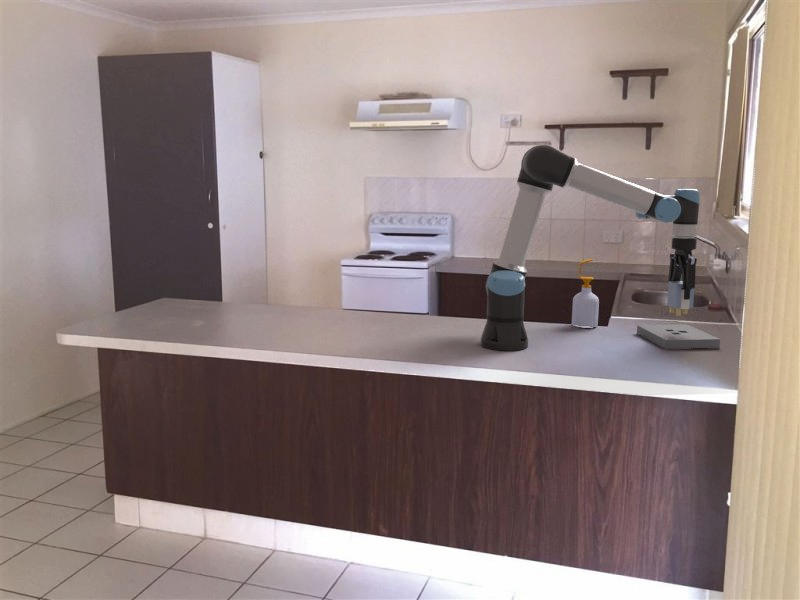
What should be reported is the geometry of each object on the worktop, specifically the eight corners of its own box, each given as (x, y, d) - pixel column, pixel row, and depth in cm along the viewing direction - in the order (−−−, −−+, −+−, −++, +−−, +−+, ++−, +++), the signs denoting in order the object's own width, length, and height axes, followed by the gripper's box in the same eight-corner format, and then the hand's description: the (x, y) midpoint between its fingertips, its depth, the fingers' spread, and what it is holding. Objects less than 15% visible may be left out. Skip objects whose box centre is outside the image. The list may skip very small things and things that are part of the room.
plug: (674, 315, 239) (677, 284, 237) (666, 312, 245) (668, 281, 243) (692, 315, 240) (694, 283, 238) (683, 311, 246) (685, 281, 244)
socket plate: (665, 349, 232) (666, 340, 232) (636, 333, 254) (637, 325, 253) (719, 348, 234) (720, 339, 234) (686, 332, 256) (686, 324, 255)
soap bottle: (598, 329, 260) (602, 260, 256) (571, 328, 262) (575, 259, 257) (596, 324, 269) (600, 257, 264) (571, 323, 270) (574, 256, 266)
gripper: (710, 239, 229) (705, 312, 233) (681, 234, 247) (677, 301, 252) (687, 240, 228) (682, 312, 232) (660, 234, 247) (656, 302, 251)
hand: (679, 306), depth 242 cm, fingers closed on plug, 6 cm apart
